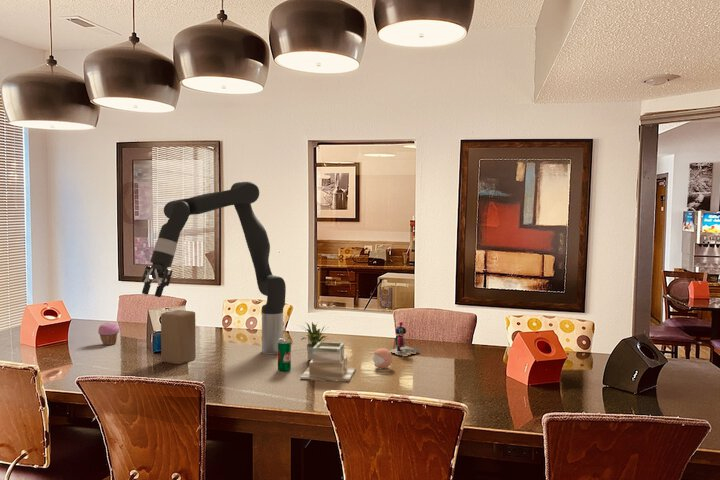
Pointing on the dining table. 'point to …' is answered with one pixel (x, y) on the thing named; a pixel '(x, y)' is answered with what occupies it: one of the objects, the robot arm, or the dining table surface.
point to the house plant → (313, 338)
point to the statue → (402, 342)
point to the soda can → (284, 355)
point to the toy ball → (382, 358)
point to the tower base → (328, 363)
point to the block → (178, 336)
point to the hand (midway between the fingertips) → (150, 295)
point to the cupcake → (108, 333)
